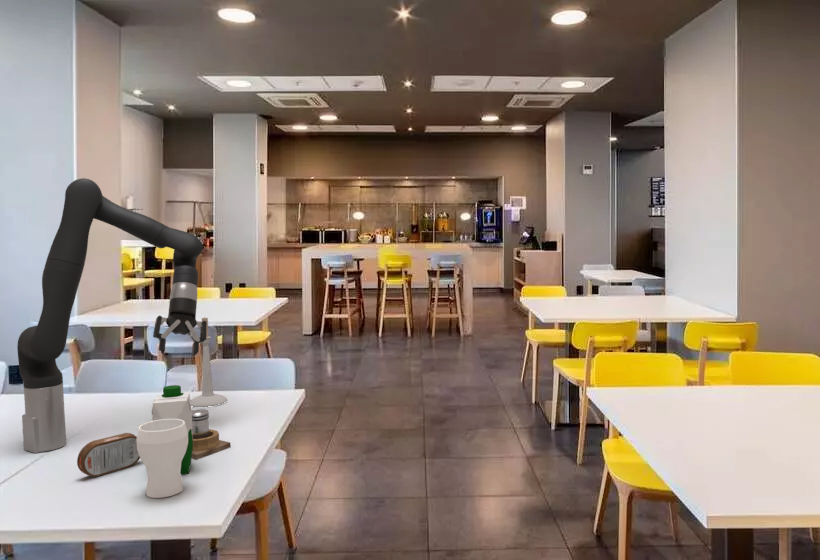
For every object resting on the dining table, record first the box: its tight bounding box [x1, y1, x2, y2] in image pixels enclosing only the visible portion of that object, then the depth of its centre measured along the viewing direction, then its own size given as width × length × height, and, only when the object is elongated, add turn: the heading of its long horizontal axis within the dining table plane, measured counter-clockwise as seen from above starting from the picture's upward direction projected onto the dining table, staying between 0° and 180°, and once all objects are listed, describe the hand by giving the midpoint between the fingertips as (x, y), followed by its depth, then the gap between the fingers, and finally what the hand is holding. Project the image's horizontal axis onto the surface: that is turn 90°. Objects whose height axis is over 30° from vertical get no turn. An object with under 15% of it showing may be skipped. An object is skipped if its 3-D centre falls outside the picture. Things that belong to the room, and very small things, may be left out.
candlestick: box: [190, 317, 228, 408], centre depth 210 cm, size 13×13×30 cm
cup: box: [136, 419, 188, 499], centre depth 135 cm, size 11×11×15 cm
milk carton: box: [151, 384, 193, 475], centre depth 148 cm, size 9×9×20 cm
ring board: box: [191, 428, 232, 460], centre depth 163 cm, size 11×11×4 cm
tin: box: [76, 432, 141, 478], centre depth 148 cm, size 15×3×8 cm, turn 141°
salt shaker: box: [191, 408, 210, 439], centre depth 163 cm, size 5×5×9 cm
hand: (178, 354), depth 174 cm, fingers open, 8 cm apart
